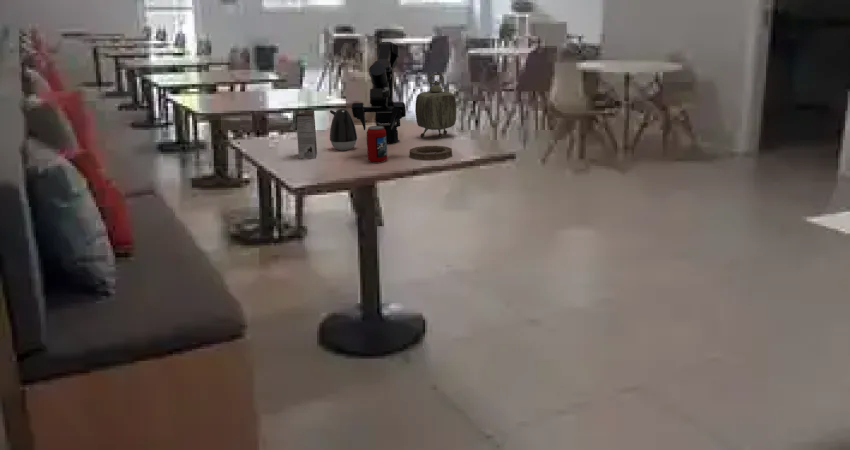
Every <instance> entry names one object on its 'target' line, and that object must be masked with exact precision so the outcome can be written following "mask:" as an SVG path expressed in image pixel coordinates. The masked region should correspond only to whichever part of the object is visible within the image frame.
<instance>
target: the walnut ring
mask: <svg viewBox="0 0 850 450" xmlns="http://www.w3.org/2000/svg"><path fill="white" fill-rule="evenodd" d="M451 157H453V149H452V147H449V146H445V145H443V146H442V145H423V146H415V147H412V148H410V149H409V158H411V159H414V160H419V161H420V160H421V161H437V160H438V161H439V160H445V159H449V158H451Z"/></svg>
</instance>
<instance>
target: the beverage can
mask: <svg viewBox="0 0 850 450" xmlns="http://www.w3.org/2000/svg"><path fill="white" fill-rule="evenodd" d="M387 144H388V143H387V142H386V131H385V129H384V127H383V126H376V125H371V126H368V128H367V130H366V147H367V148H366V149H367V150H366V151H367V152H366V153H367V160H368V161H369V162H370V163H373V162H380V163H384V162H386V160H387V159H388V145H387Z"/></svg>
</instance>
